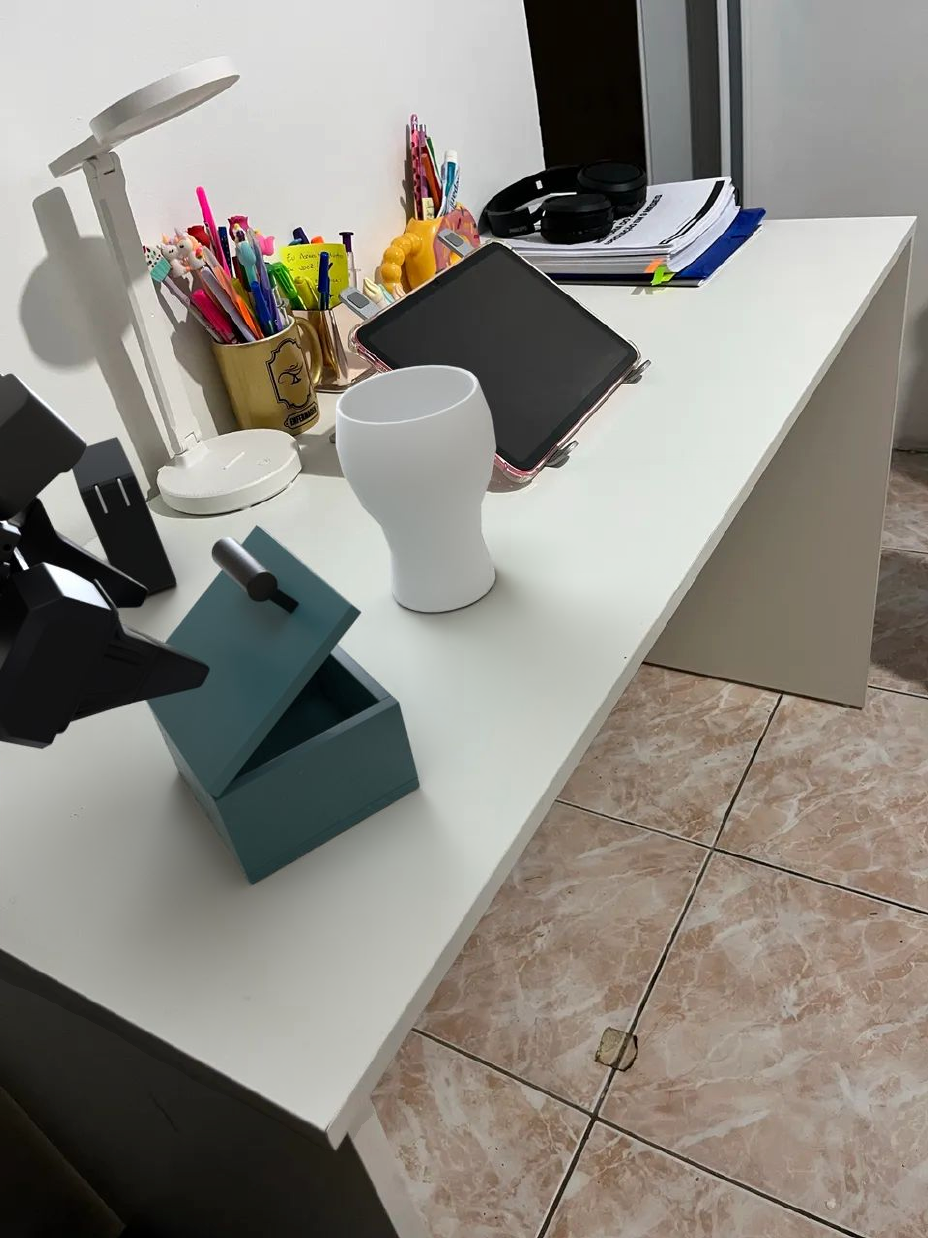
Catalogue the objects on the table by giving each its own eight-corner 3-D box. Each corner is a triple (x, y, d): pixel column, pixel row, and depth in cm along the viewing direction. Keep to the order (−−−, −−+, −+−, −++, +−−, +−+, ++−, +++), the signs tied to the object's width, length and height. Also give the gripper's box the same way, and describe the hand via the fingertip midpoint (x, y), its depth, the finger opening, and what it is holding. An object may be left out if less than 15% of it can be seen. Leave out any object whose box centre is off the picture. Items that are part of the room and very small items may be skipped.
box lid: (266, 530, 55) (214, 493, 52) (362, 612, 46) (306, 572, 44) (144, 687, 55) (86, 658, 52) (218, 798, 46) (152, 770, 43)
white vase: (489, 631, 65) (455, 428, 56) (350, 619, 69) (298, 428, 60) (531, 548, 73) (507, 359, 64) (404, 542, 76) (365, 363, 68)
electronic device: (157, 537, 84) (116, 433, 78) (179, 587, 76) (136, 475, 70) (110, 553, 83) (65, 449, 77) (127, 605, 75) (79, 493, 69)
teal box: (328, 691, 62) (305, 612, 59) (420, 786, 54) (399, 702, 50) (177, 769, 58) (141, 690, 54) (251, 886, 50) (214, 802, 46)
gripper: (-66, 400, 29) (330, 561, 40) (-126, 299, 43) (181, 439, 53) (-206, 710, 31) (212, 787, 41) (-221, 517, 44) (96, 612, 55)
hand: (172, 634), depth 48 cm, fingers open, 9 cm apart
